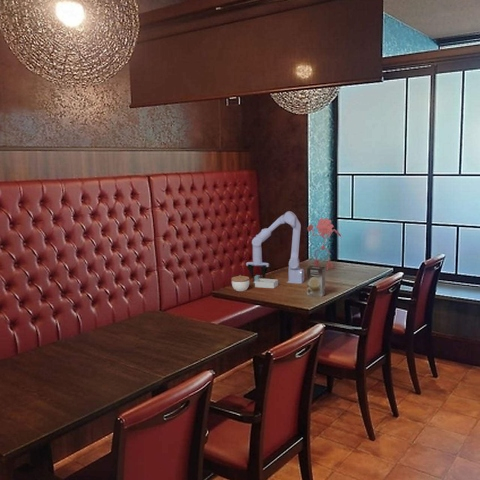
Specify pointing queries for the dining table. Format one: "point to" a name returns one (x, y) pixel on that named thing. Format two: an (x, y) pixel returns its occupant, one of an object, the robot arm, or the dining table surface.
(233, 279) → the lidded jar
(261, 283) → the tub
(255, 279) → the lid
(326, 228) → the red flower sprig
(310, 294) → the coffee box
